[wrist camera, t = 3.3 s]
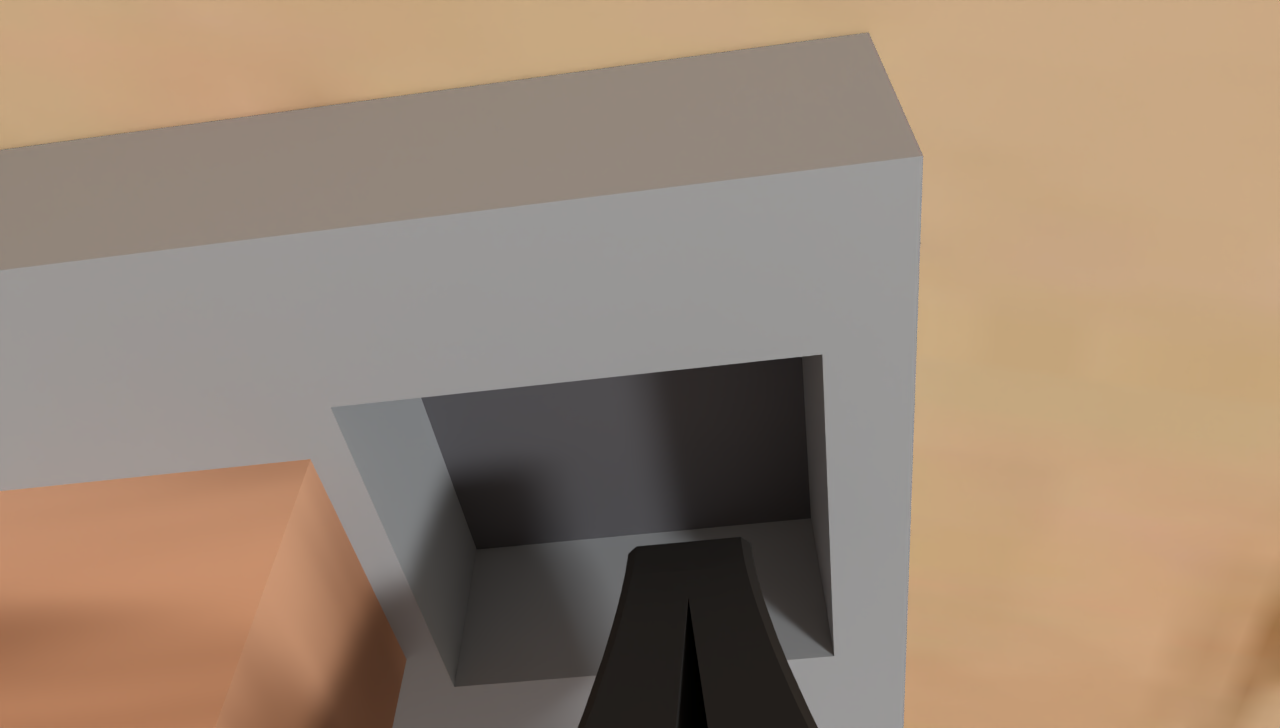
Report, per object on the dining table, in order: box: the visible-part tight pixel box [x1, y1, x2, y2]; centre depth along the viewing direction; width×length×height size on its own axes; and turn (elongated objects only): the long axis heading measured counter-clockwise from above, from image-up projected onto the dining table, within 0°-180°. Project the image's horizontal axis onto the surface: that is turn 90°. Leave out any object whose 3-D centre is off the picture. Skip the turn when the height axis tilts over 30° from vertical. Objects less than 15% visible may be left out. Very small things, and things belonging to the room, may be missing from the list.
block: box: [0, 459, 406, 728], centre depth 12 cm, size 4×4×4 cm
